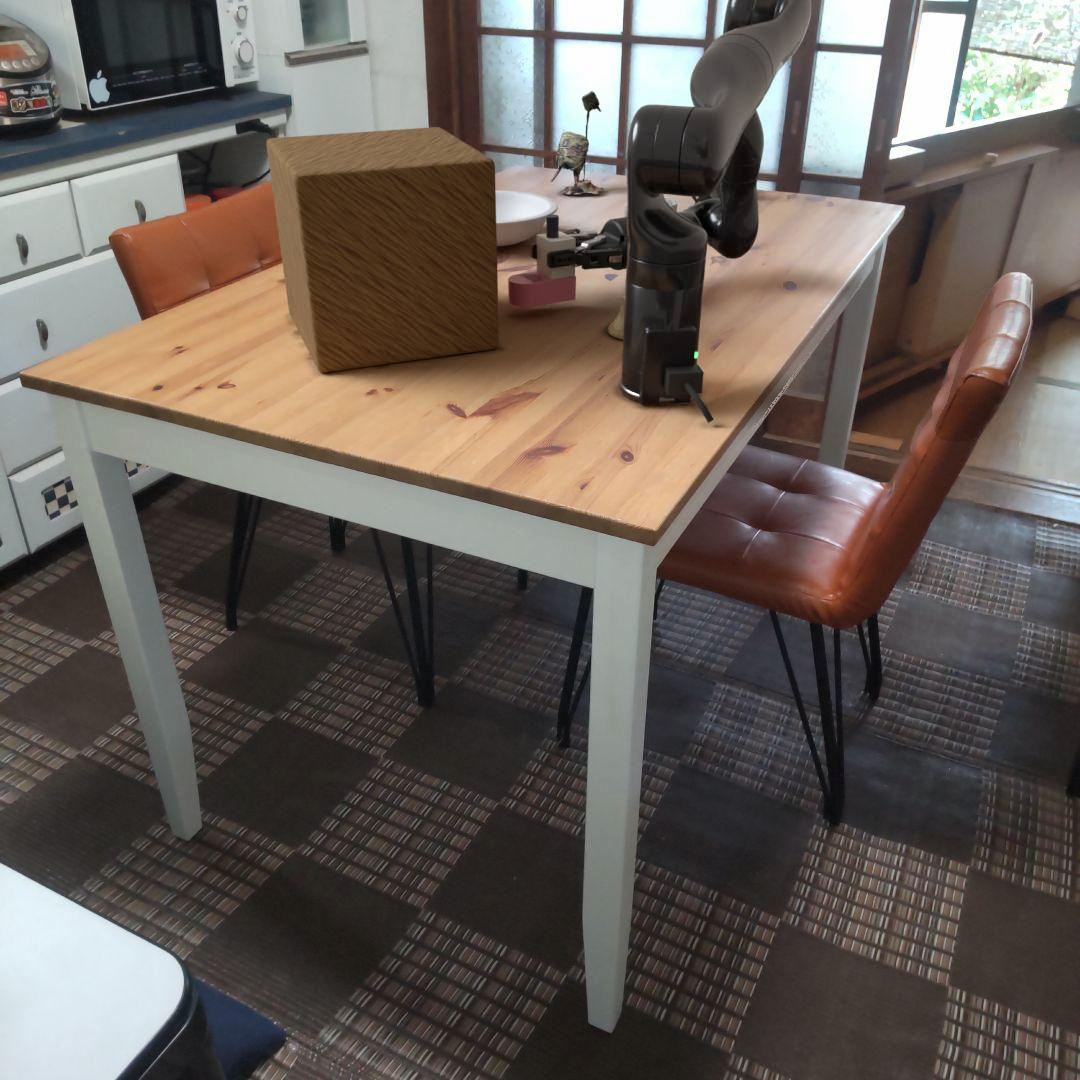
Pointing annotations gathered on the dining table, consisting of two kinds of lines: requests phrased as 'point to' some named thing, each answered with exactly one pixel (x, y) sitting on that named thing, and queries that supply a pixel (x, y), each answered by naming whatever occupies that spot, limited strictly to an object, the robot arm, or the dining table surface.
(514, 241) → the soup bowl
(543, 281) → the block stack
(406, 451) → the dining table surface
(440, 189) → the wood block
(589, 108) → the bird figurine
